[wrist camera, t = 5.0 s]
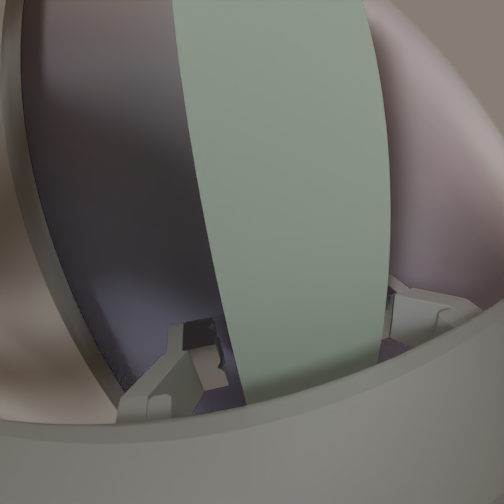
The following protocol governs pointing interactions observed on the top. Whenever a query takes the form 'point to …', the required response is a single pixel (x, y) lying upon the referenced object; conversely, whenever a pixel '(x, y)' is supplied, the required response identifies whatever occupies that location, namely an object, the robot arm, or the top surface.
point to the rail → (290, 182)
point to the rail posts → (38, 284)
